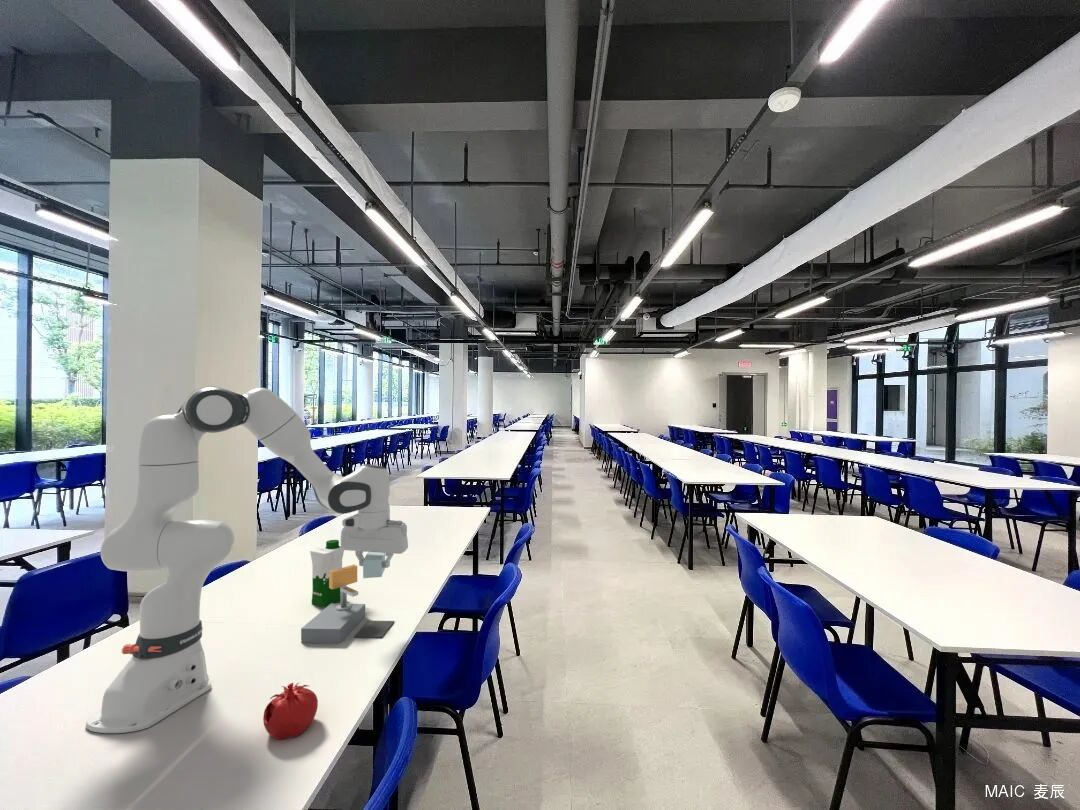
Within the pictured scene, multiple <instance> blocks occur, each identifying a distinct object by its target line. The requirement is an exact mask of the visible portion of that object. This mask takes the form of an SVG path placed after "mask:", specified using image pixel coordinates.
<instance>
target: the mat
mask: <svg viewBox="0 0 1080 810" xmlns="http://www.w3.org/2000/svg"><path fill="white" fill-rule="evenodd" d="M394 623H395V620H368V621H366V623H365V624H364V625H363V626H362V627H361V628H360V629H359V631H357V632H356V633H355V634H354V636H353V638H354V639H355V638H356V639H357V638H358V639H359V638H360V639H382V638H383V637H384V636H385V635H386V633H387V632H388V631H389V630H390V628H391V627H392V626H393V625H394Z"/></svg>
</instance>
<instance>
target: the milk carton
mask: <svg viewBox="0 0 1080 810" xmlns="http://www.w3.org/2000/svg"><path fill="white" fill-rule="evenodd" d="M309 553H310V559H311V563H312V565H311V566H312V567H311V569H312V577H311V578H312V592H311V605H314V606H316V607H321V608H323V609H325V608H326V607H327V606H329V605H330V604H331V603H335V604H339V603H340V587H339V588H336V589H333V590H332V589H330V588H329V571H332V570H336V569H340V568H343V559H344V553H345V550H343V549H342V548H341V545H340V540H339V539H329V540H327V541H326V542H325V545H324V546H321V547H317V548H315V549H312V550H309Z"/></svg>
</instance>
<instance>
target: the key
mask: <svg viewBox="0 0 1080 810" xmlns="http://www.w3.org/2000/svg"><path fill="white" fill-rule="evenodd" d="M357 582H358V565H357V564H352V565H347V566H344V567H343V566H342V568H340V569H336V570H332V571H329V588H330V589H332V590H333V589H336V588H339V587H340V602H339V604H340V607H341V608H344V607H346V606H347V603H348V596H351V597H352V598H353V597H355V596H356V597H357V596H359V591H358V590H356V589H353V588H351V587H349V585H351V584H355V583H357Z"/></svg>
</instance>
